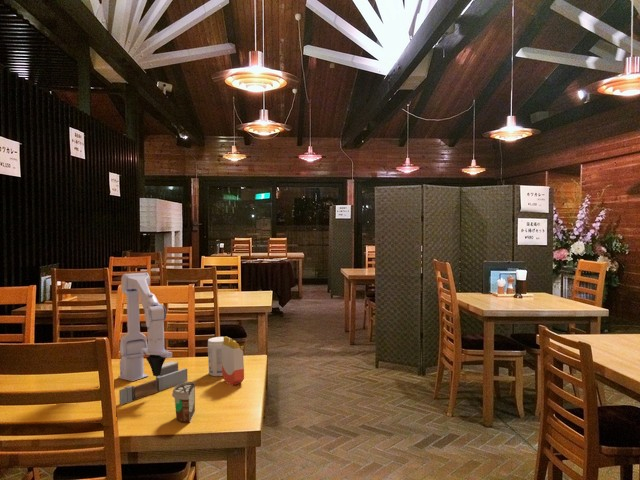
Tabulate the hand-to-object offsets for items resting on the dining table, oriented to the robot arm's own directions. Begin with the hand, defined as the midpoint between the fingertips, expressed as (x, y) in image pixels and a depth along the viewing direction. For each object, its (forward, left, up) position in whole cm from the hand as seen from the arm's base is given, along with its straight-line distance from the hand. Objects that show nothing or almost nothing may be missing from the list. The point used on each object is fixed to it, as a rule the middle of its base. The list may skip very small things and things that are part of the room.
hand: (156, 375), depth 176 cm
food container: (+24, -9, -8) cm, 27 cm away
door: (-4, -2, -8) cm, 9 cm away
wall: (-4, +3, -8) cm, 9 cm away
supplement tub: (+1, +32, -8) cm, 33 cm away
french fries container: (+14, +26, -8) cm, 30 cm away
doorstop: (-13, +16, -8) cm, 22 cm away
